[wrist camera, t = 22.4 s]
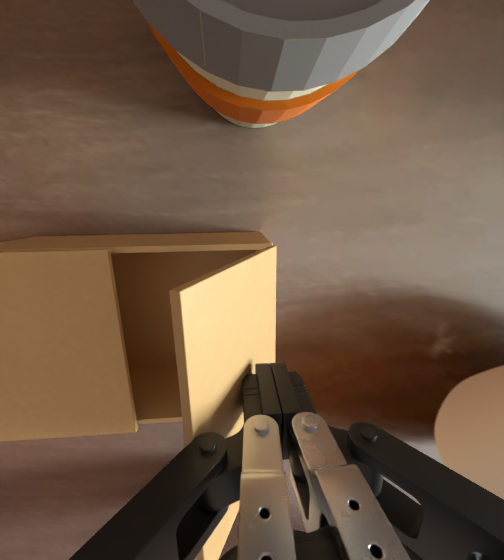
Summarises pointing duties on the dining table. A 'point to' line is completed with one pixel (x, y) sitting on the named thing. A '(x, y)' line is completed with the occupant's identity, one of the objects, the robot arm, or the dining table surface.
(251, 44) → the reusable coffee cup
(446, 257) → the dining table surface
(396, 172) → the dining table surface
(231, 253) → the carton
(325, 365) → the dining table surface
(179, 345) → the flap
